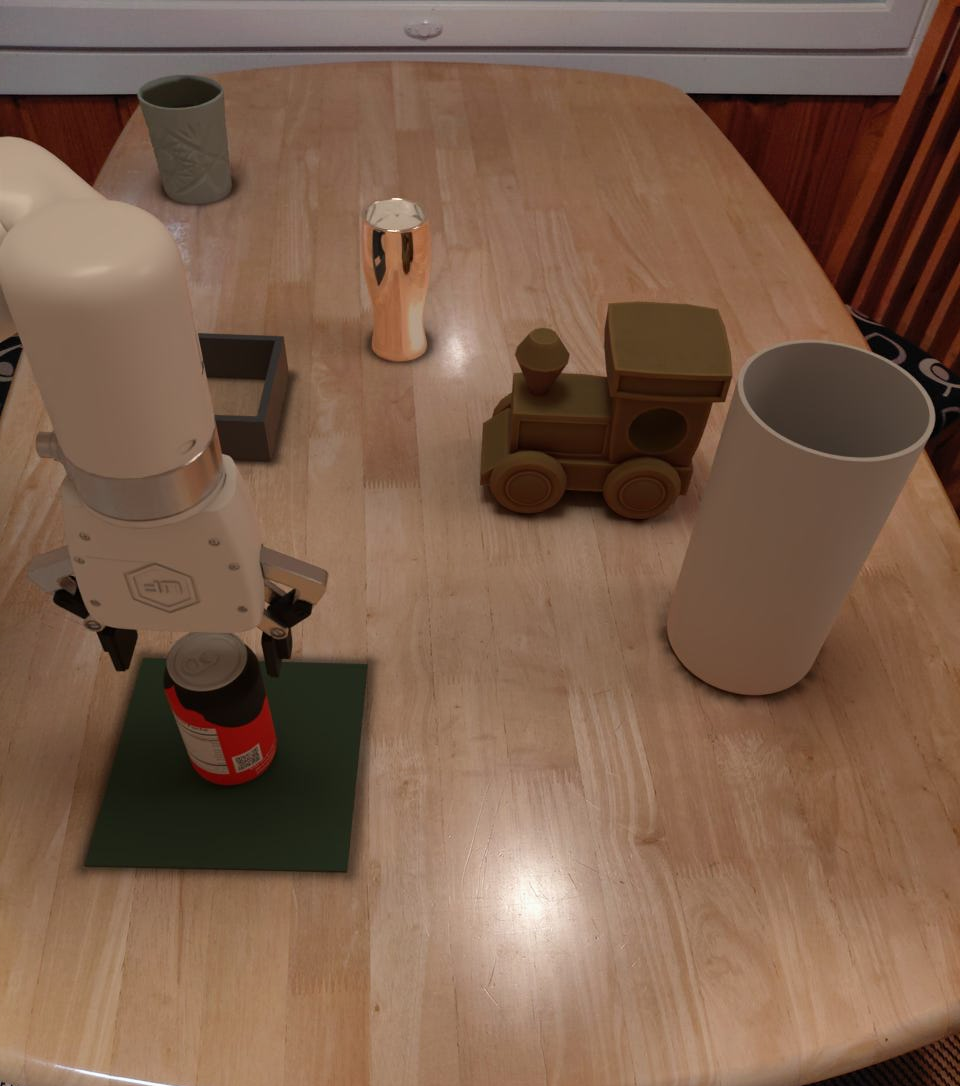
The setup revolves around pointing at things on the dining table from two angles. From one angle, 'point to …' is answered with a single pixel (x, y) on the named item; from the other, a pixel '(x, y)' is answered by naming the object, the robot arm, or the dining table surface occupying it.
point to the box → (248, 361)
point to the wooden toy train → (610, 412)
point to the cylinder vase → (793, 509)
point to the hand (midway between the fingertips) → (202, 656)
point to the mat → (243, 809)
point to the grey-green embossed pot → (188, 136)
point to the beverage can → (220, 706)
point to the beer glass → (397, 274)
